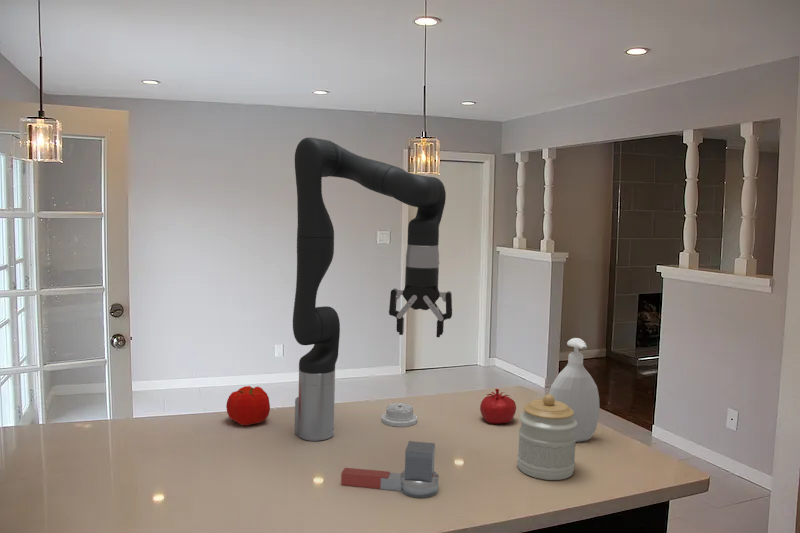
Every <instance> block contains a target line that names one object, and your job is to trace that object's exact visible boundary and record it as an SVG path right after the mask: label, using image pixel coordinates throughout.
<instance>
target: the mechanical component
mask: <svg viewBox="0 0 800 533" xmlns="http://www.w3.org/2000/svg"><path fill="white" fill-rule="evenodd" d="M385 409H386V411H385V413H383V414H381V423H383V424H384V425H387V426H390V427H398V428H404V427H411V426H414V425H416V424H417V423H418V416H417V414H415V413H414V406H412V405H411V404H408V403H404V402H398V403H397V402H396V403H395V402H393V403H391V404H388V405H386V408H385Z"/></svg>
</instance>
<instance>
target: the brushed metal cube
mask: <svg viewBox="0 0 800 533" xmlns="http://www.w3.org/2000/svg"><path fill="white" fill-rule="evenodd" d="M404 451H405V452H404V453H405V455H404V470H405V480H411V481H421V482H432V478H433V474H434V472H435V458H436V457H435V454H436V452H435V451H436V443H434V442H423V441H413V440H412V441H410V440H409V441H408V443H407V446H406V448H405V450H404Z"/></svg>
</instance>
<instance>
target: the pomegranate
mask: <svg viewBox="0 0 800 533" xmlns="http://www.w3.org/2000/svg"><path fill="white" fill-rule="evenodd" d="M504 393H505V392H500V389H499V388H495V392H494V391H492V392H491V393H488V394H487V393H486V394H485V395H486V396H484V398H483V399H482V401H481V402H480V406H479V411H480V414H481V417H482V418H483V419H484V421H486V423H489V424H491V425H493V424H494V425H495V424H497V425H500V424H501V425H502V424H503V425H504V424H508V423H510V422H512V420H513V419H514V416H515V414H516V411H517V405H516V402H515V401H514V399H512V398H511V397H512V396H511V395H509V394H504ZM503 394H504V395H503Z"/></svg>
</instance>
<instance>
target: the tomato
mask: <svg viewBox="0 0 800 533" xmlns="http://www.w3.org/2000/svg"><path fill="white" fill-rule="evenodd" d="M225 407H226V412H227V415H228V418H230V419H231V420H232V421H234V422H237V424H239V425H242V426H250V425H255V424H260V423H261V422H264V420H265V419H267V418H268V417H269V416H270V409H271V405H270V398H269V395H268V393H267V392H266V391H265V390H264V389H263V388H262V387H260V386H255V387H252V386H250V385H248V386H242V387H240V388H239V389H238V390H236V391H233V392H231V393H230V395H229V396H228V398H227V401H226V406H225Z"/></svg>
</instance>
